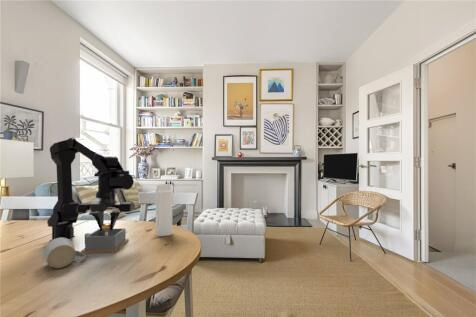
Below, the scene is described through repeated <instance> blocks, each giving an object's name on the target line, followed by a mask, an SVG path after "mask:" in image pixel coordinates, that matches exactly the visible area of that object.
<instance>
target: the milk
mask: <svg viewBox="0 0 476 317" xmlns="http://www.w3.org/2000/svg"><path fill="white" fill-rule="evenodd" d="M155 234H156V236H157V237H159V238H160V237H165V236H166V237H167V236H172V235H173V190H172V184H170V183H168V184H167V183H163V184H157V185H156V190H155Z"/></svg>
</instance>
